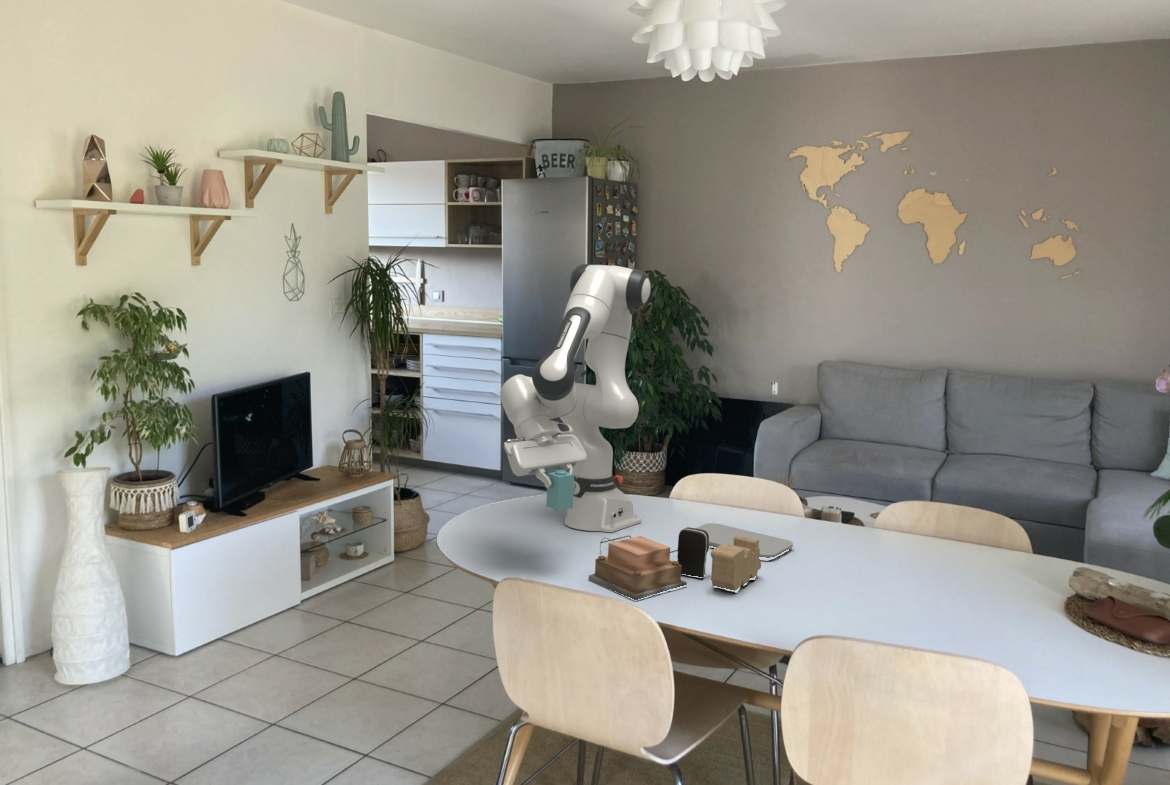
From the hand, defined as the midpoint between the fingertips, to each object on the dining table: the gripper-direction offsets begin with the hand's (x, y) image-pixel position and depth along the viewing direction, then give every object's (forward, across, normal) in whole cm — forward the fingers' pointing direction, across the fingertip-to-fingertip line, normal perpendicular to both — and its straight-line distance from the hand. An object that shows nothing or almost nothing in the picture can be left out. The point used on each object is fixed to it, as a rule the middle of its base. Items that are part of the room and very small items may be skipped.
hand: (560, 484), depth 218 cm
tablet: (+22, +54, +10) cm, 59 cm away
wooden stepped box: (+26, +11, +4) cm, 29 cm away
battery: (+28, +26, +2) cm, 39 cm away
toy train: (+36, +30, -5) cm, 47 cm away
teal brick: (+4, 0, +4) cm, 5 cm away
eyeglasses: (+16, +26, +15) cm, 34 cm away
